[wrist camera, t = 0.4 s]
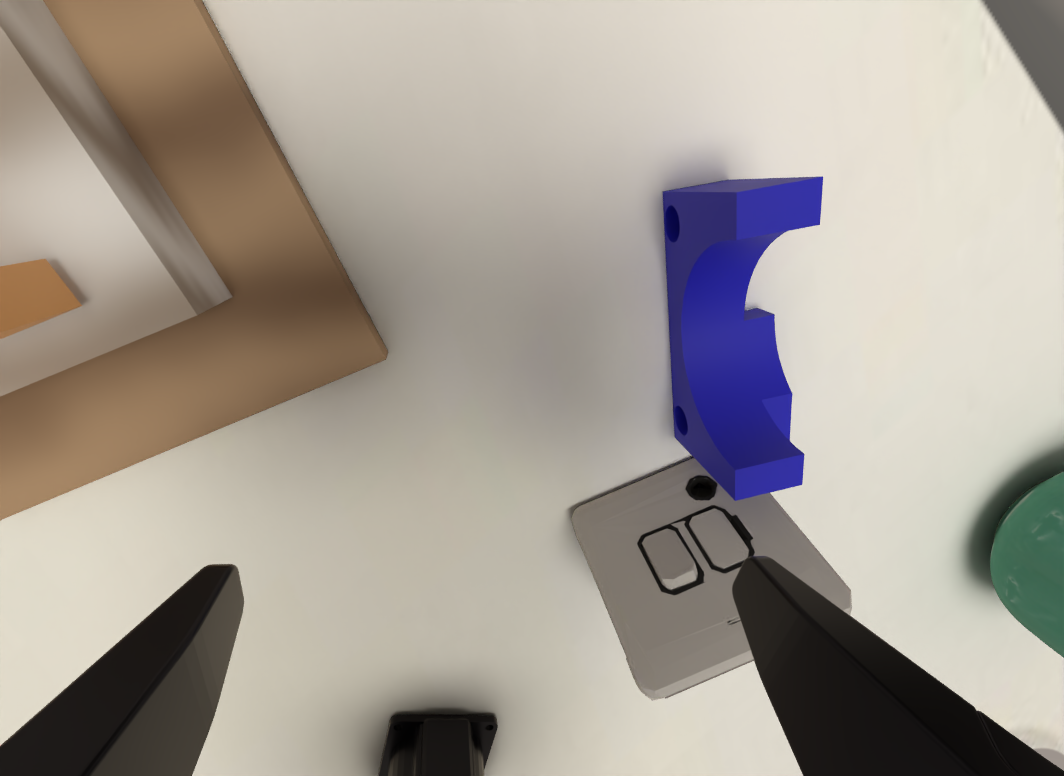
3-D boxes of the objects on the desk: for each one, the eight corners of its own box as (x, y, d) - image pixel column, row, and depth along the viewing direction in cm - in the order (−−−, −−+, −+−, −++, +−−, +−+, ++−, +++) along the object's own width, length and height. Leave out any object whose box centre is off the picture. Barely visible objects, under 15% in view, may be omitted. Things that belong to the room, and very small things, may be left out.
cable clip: (753, 416, 27) (835, 476, 21) (673, 435, 26) (735, 501, 21) (758, 174, 22) (864, 169, 16) (660, 191, 21) (736, 192, 16)
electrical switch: (726, 439, 27) (862, 573, 18) (738, 506, 29) (863, 650, 21) (564, 507, 26) (629, 672, 18) (590, 568, 29) (658, 738, 21)
